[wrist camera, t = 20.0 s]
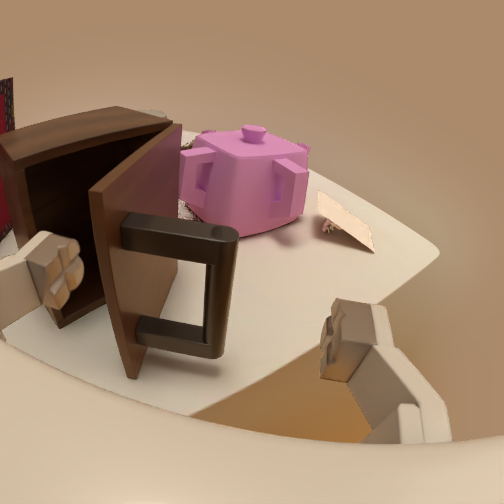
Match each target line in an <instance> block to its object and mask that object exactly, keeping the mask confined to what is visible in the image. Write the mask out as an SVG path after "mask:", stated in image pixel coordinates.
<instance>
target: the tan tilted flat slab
mask: <svg viewBox="0 0 504 504" xmlns="http://www.w3.org/2000/svg"><path fill="white" fill-rule="evenodd" d="M318 212H320V213H321V214H322V215H324V216H325V217H327V218H328V219H327V220H326V221H325V224H324V226H323V228H322V230H323V232H325V231H326V230H327V228H328V233H329V229H331V230H332V231H333V226H335V227H337V228H338V229H340V230H341V229H344V230H345V231H346V232H348V233H349V234H351V235H352V236H353V237H355V238H356V239H357V240H359V241H360V242H361V243H363V244H364V245H366V246H367V247H368V248H370V249H371V250H372V251H374V246H373V242H372V238H371V233H370V229H369V227H368V226H367V225H366V224H364V223H363V222H362V221H360V220H359V219H358V218H356V217H355V216H354V215H352V214H351V213H350V212H348V211H347V210H346V209H344V208H343V207H341V206H340V205H339V204H337V203H336V202H335V201H333V200H332V199H330V198H329V197H328V196H326V195H325V194H323V193H322V192H321V191H319V190H318ZM330 220H331V221H330ZM374 252H375V251H374Z"/></svg>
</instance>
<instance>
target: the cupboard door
mask: <svg viewBox="0 0 504 504" xmlns="http://www.w3.org/2000/svg"><path fill="white" fill-rule="evenodd" d="M181 136H182V124H172V125H171V126H169V127H168V128H166V129H165V130H164V131H162V132H161V133H159V134H158V135H157V136H155V137H154V138H153V139H151V140H150V141H149V142H147V143H146V144H145V145H143V146H142V147H141V148H139V149H138V150H137V151H135V152H134V153H133V154H132V155H130V156H129V157H128V158H126V159H125V160H124V161H123V162H121V163H120V164H119V165H118V166H117V167H115V168H114V169H113V170H112V171H110V172H109V173H108V174H107V175H106V176H105V177H103V178H102V179H101V180H100V181H99V182H97V183H96V184H95V185H94V186H93V187H92V188H91V189H89V191H88V194H89V203H90V211H91V219H92V226H93V233H94V239H95V245H96V251H97V257H98V263H99V268H100V273H101V278H102V283H103V288H104V293H105V297H106V302H107V306H108V310H109V314H110V318H111V322H112V326H113V330H114V334H115V338H116V341H117V345H118V348H119V352H120V355H121V359H122V362H123V365H124V369H125V372H126V375H127V377H130V378H134V379H136V378H137V375H138V372H139V369H140V367H141V364H142V361H143V358H144V356H145V353H146V350H147V347H153V348H157V349H162V350H167V351H172V352H176V353H181V354H187V355H192V356H197V357H203V358H208V359H217V358H219V357H221V356H222V355H223V353H224V347H225V339H226V331H227V324H228V316H229V309H230V301H231V294H232V287H233V279H234V272H235V265H236V257H237V250H238V243H239V233H238V231H237V230H236V229H234V228H232V227H229V226H224V225H217V224H211V223H204V222H198V221H191V220H184V219H178V195H179V171H180V152H181ZM177 259H179V260H185V261H191V262H197V263H203V264H206V277H205V293H204V311H203V327H202V326H197V325H191V324H186V323H180V322H175V321H170V320H165V319H160V318H159V315H160V313H161V310H162V308H163V305H164V303H165V300H166V298H167V295H168V293H169V290H170V288H171V285H172V283H173V280H174V278H175V275H176V273H177Z"/></svg>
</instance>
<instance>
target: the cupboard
mask: <svg viewBox="0 0 504 504" xmlns="http://www.w3.org/2000/svg"><path fill="white" fill-rule="evenodd" d="M172 124H173V121H172V120H169V119H165V118H161V117H158V116H154V115H150V114H147V113H143V112H139V111H135V110H131V109H127V108H123V107H118V106H114V107H108V108H103V109H97V110H92V111H88V112H82V113H78V114H73V115H69V116H64V117H60V118H57V119H52V120H48V121H45V122H41V123H37V124H33V125H30V126H27V127H24V128H20V129H17V130H13V131H10V132H7V133H4V134H1V135H0V172H1V178H2V183H3V188H4V193H5V198H6V203H7V207H8V211H9V215H10V219H11V223H12V227H13V231H14V235H15V238H16V242H17V245H18V248H19V250H20V249H21V248H22V247H23V246H24V245H25V244H26V243H27V242H29V241H30V240H31V239H32V238H33V237H34V236H35V235H36V234H37V233H39V232H40V231H47V232H50V233H55V234H58V235H62V236H65V237H69V238H72V239H75V240H77V241H78V242H79V246H80V250H81V251H80V253H79V254H78V255H79V257H80V258H81V260H82V261H83V265H84V275H83V278H82V281H81V283H80V285H79V286H78V287H77V288H76V289H74V290H72V291H70V298H69V299H68V300H67V301H66V303H65V304H64V305H63V307H62V308H61V309H60V310H57V309H55V308H52V307H49V306H46V305H45V307H46V308H47V310H48V312H49V313H50V315H51V317H52V318H53V320H54V321H55V323H56V324H57V326H58V328H59V329H60V328H62V327H63V326H65V325H67V324H69V323H71V322H72V321H74V320H76V319H78V318H79V317H81V316H83V315H85V314H86V313H88V312H90V311H92V310H94V309H95V308H97V307H99V306H101V305H103V304H104V303H106V297H105V293H104V288H103V283H102V278H101V273H100V268H99V263H98V257H97V251H96V245H95V239H94V233H93V226H92V219H91V211H90V203H89V194H88V191H89V189H91V188H92V187H93V186H94V185H95V184H96V183H97V182H99V181H100V180H101V179H102V178H103V177H105V176H106V175H107V174H108V173H109V172H110V171H112V170H113V169H114V168H115V167H117V166H118V165H119V164H120V163H121V162H123V161H124V160H125V159H126V158H128V157H129V156H130V155H132V154H133V153H134V152H135V151H137V150H138V149H139V148H141V147H142V146H143V145H145V144H146V143H147V142H149V141H150V140H151V139H153V138H154V137H155V136H157V135H158V134H159V133H161V132H162V131H164V130H165V129H166V128H168V127H169V126H171V125H172Z"/></svg>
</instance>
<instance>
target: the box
mask: <svg viewBox="0 0 504 504" xmlns="http://www.w3.org/2000/svg"><path fill="white" fill-rule="evenodd" d="M13 104H14V103H13V78H8V79H3V80H0V135H1V134H4V133H7V132H10V131H13V130H15V123H14V122H15V121H14V105H13ZM11 228H12V223H11V219H10V215H9V211H8V207H7V203H6V198H5V193H4V188H3V183H2V178H1V172H0V241H1V240H2V238H3V237H4V236H5V235H6V234H7V233H8V231H9V230H10V229H11Z"/></svg>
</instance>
